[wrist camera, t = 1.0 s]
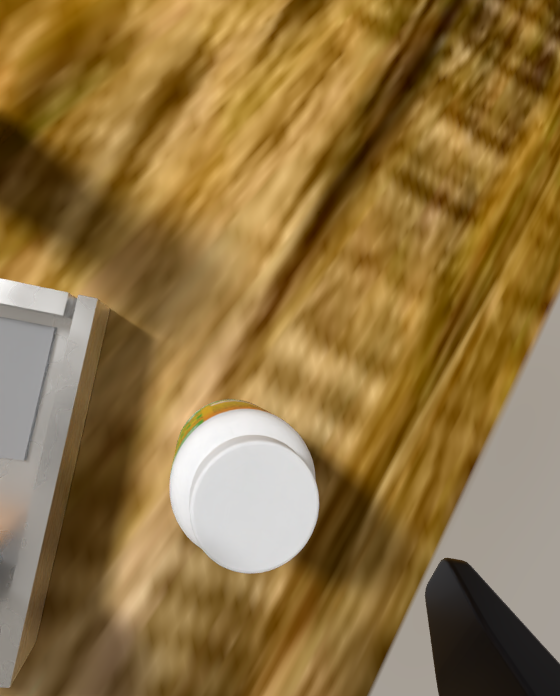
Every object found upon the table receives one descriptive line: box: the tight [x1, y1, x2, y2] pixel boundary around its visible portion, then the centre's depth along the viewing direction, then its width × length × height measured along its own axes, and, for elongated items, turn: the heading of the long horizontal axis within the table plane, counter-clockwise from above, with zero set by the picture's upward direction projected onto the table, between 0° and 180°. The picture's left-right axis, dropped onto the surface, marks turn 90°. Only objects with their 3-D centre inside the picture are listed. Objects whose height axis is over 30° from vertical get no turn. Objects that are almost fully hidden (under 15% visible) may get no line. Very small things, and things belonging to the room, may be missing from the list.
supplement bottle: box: [170, 399, 319, 573], centre depth 18 cm, size 5×5×10 cm
